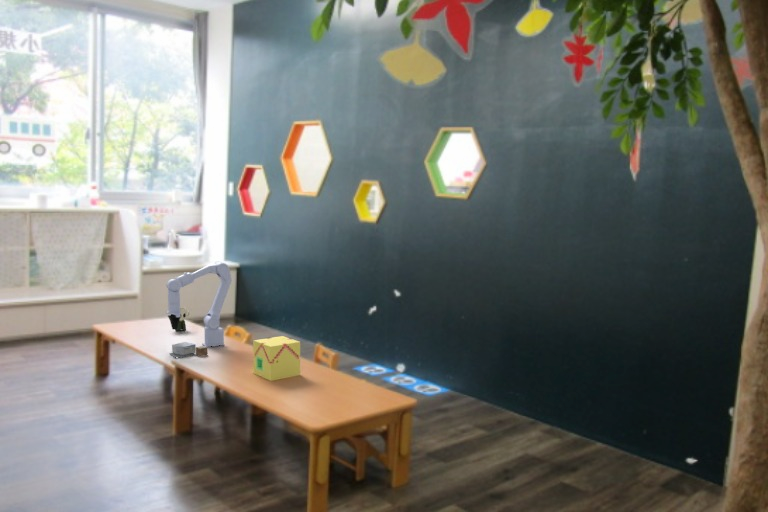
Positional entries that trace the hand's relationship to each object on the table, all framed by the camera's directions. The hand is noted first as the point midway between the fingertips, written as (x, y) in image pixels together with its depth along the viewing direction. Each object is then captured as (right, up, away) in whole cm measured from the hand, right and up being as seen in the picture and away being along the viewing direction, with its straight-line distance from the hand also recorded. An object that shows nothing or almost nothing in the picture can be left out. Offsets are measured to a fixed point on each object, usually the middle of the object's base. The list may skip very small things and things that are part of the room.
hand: (174, 329), depth 329 cm
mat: (+7, -12, -11) cm, 17 cm away
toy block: (+59, -16, -42) cm, 75 cm away
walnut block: (+17, -12, -11) cm, 23 cm away
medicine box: (+4, -8, -6) cm, 11 cm away
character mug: (-11, -6, +45) cm, 47 cm away
